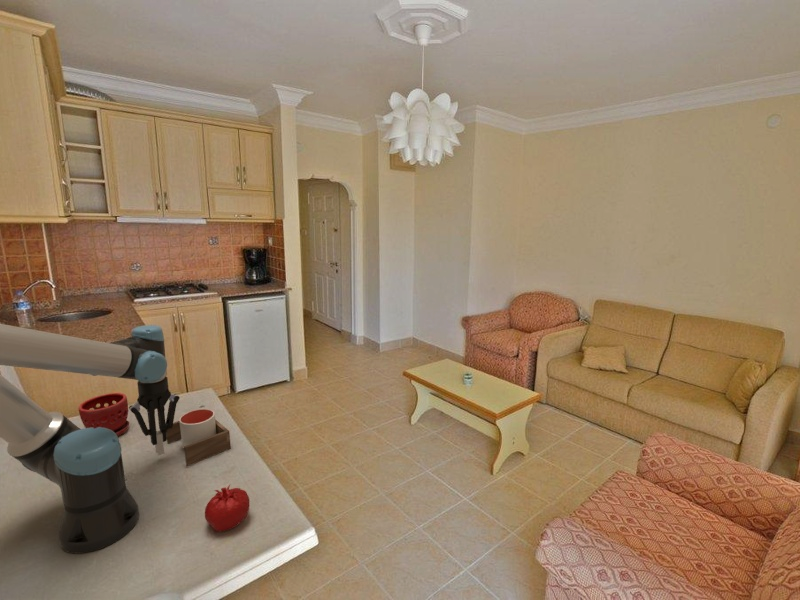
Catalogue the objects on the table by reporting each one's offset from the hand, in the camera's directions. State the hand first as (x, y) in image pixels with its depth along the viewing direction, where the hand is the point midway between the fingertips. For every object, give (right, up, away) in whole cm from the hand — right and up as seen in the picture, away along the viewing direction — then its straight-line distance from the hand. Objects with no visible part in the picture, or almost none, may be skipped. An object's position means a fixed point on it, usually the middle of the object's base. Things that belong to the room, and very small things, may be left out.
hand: (160, 452), depth 123 cm
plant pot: (-26, +1, +15) cm, 30 cm away
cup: (+8, -1, +9) cm, 12 cm away
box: (+8, -1, +9) cm, 12 cm away
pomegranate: (+30, -8, -23) cm, 39 cm away
